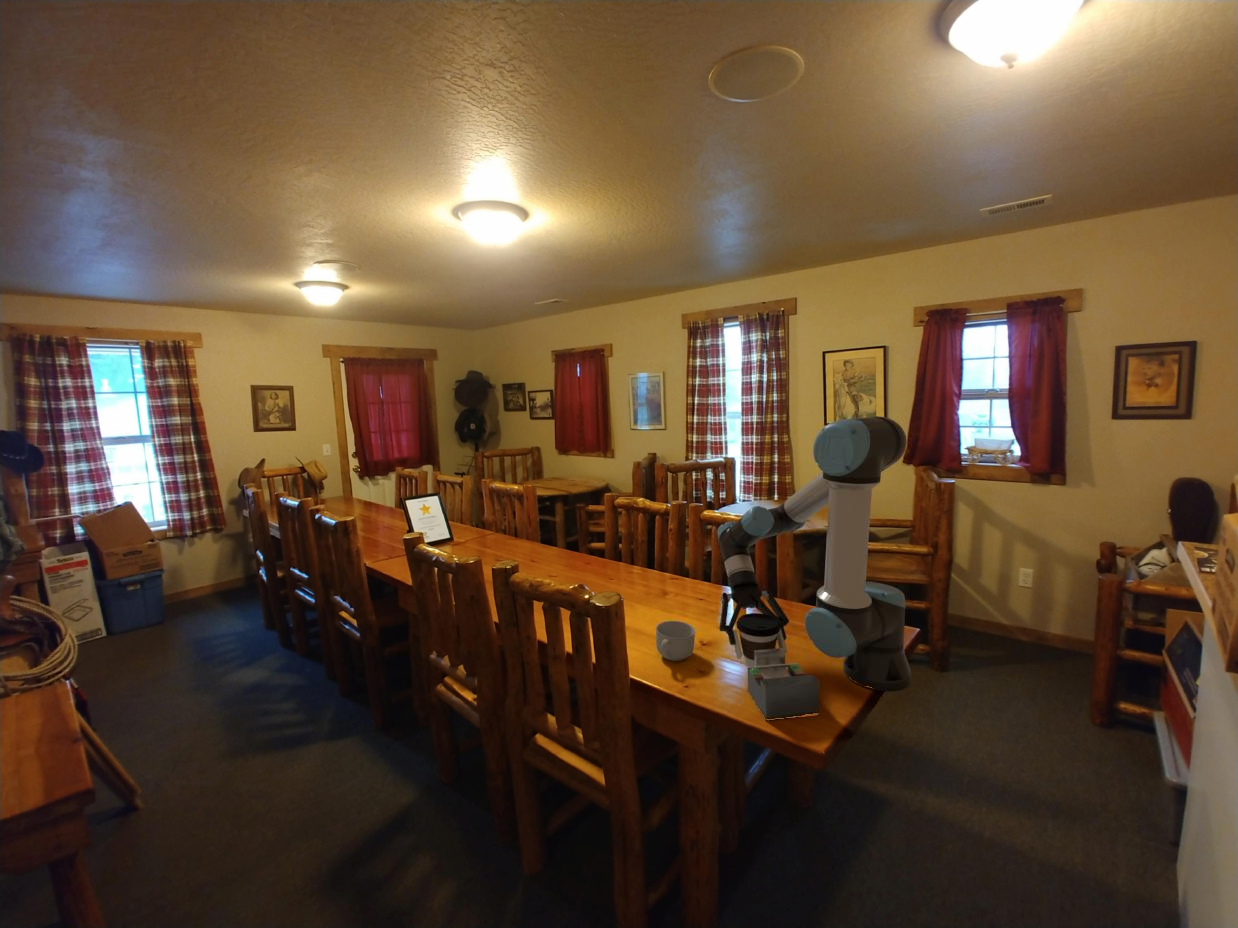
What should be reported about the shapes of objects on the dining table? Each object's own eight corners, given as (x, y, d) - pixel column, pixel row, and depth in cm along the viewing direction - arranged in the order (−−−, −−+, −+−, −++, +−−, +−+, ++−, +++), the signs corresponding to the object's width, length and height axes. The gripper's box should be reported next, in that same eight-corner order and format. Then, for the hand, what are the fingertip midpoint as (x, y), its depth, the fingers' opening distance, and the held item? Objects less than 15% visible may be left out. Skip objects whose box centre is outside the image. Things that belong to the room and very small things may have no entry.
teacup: (670, 642, 149) (669, 616, 148) (703, 653, 142) (702, 625, 141) (641, 662, 138) (640, 634, 137) (675, 675, 131) (674, 645, 130)
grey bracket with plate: (747, 681, 125) (746, 650, 124) (790, 677, 126) (790, 647, 125) (756, 696, 119) (755, 664, 118) (801, 692, 120) (802, 659, 118)
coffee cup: (785, 675, 127) (786, 630, 125) (741, 677, 127) (741, 631, 125) (773, 653, 138) (773, 611, 136) (732, 654, 138) (732, 612, 136)
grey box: (747, 691, 123) (747, 660, 122) (795, 686, 124) (795, 655, 123) (765, 721, 112) (765, 686, 111) (818, 715, 113) (818, 681, 112)
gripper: (777, 577, 146) (801, 655, 133) (698, 583, 144) (714, 663, 131) (785, 565, 140) (811, 646, 127) (702, 571, 138) (719, 654, 125)
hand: (762, 655), depth 129 cm, fingers closed on coffee cup, 11 cm apart
